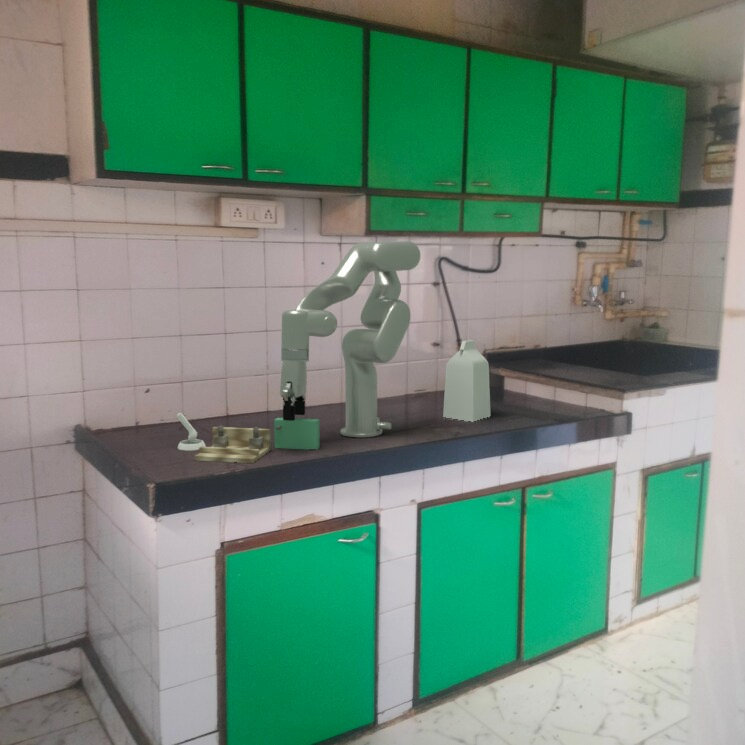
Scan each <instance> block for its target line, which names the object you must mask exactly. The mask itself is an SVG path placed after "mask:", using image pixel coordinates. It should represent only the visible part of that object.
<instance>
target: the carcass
mask: <svg viewBox="0 0 745 745" xmlns="http://www.w3.org/2000/svg"><path fill="white" fill-rule="evenodd" d="M271 438H272V437H271V428H259V426H253V427H249V428H248V427H232V426H231V427H226V426H224V425H222V424H221V425H218V426H214V427H212V445H211V446H206V447H199V451H198V453H196V454H195V455H193V461H195V462H217V463H234V462H237V463H238V464H255V463H256V462H257V461H259V460H260V459H261V458H262V457H264V456H266V453H267V454H268V453H269V451H270V452H271V451H272V447H271V445H272V444H271V443H272V442H271ZM258 459H259V460H258ZM255 461H256V462H255ZM237 463H236V464H237Z"/></svg>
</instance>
